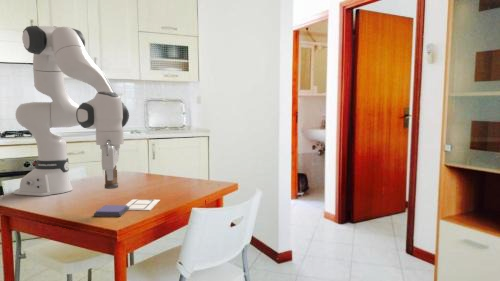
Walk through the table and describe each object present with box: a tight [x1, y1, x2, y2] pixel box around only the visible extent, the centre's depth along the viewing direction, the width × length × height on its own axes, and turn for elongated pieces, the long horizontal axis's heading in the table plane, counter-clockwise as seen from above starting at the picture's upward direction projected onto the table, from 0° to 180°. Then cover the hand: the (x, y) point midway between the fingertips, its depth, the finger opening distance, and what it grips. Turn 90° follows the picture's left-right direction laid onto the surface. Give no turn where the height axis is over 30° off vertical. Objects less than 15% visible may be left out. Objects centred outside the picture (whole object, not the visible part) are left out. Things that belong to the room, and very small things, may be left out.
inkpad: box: [93, 204, 129, 218], centre depth 124 cm, size 9×9×2 cm
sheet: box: [125, 198, 161, 211], centre depth 134 cm, size 11×14×1 cm
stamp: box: [104, 164, 119, 190], centre depth 123 cm, size 4×4×9 cm
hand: (111, 178), depth 123 cm, fingers closed on stamp, 4 cm apart
